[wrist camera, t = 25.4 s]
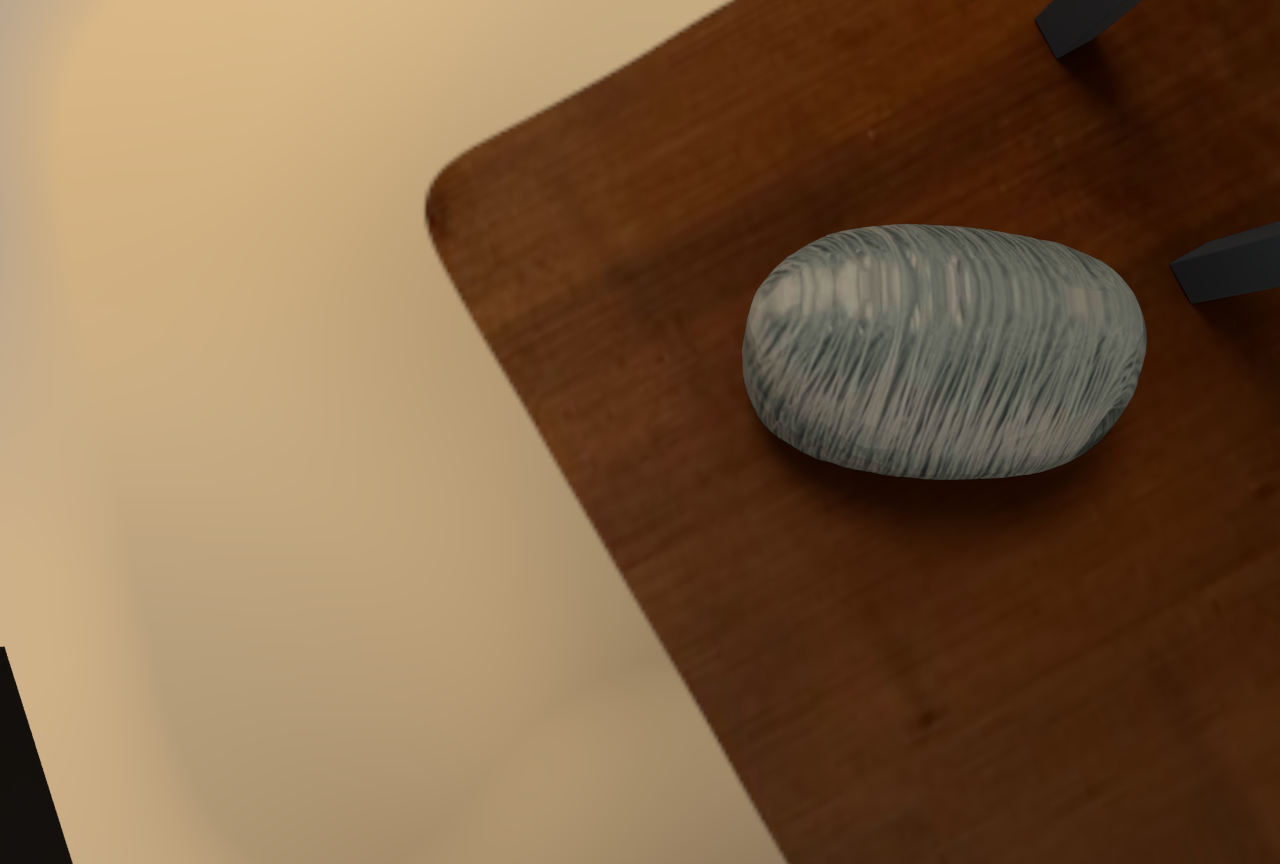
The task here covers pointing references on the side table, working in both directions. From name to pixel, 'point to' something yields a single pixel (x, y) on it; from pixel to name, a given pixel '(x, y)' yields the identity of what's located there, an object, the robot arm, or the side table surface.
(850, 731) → the side table surface
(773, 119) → the side table surface
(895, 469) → the spool
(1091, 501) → the side table surface
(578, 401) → the side table surface
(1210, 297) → the grey four-legged stand
